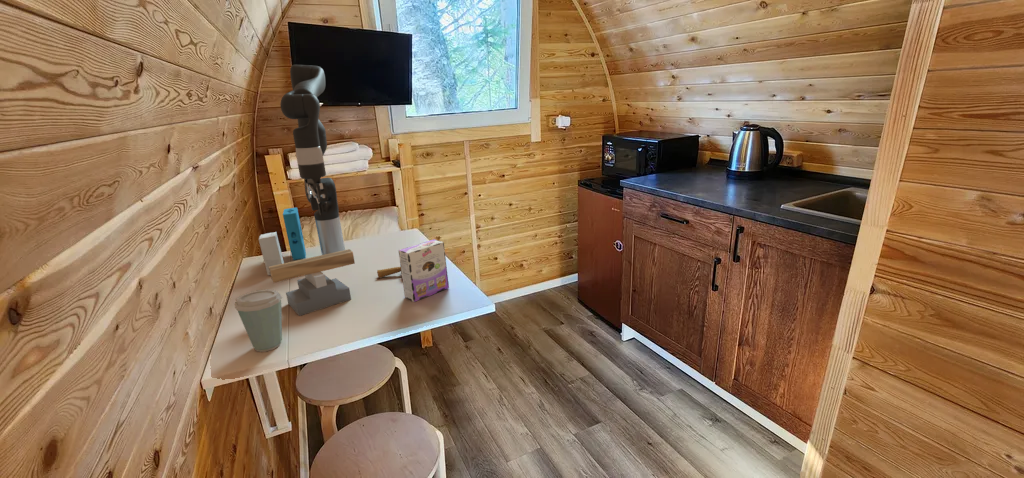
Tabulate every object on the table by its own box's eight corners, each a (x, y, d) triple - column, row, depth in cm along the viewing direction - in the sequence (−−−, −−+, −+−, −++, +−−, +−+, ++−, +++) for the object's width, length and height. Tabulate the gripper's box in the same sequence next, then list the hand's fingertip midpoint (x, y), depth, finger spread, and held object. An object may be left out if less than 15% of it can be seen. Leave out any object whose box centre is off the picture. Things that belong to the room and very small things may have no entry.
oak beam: (271, 278, 134) (268, 266, 133) (351, 260, 147) (349, 249, 146) (273, 282, 131) (270, 270, 130) (354, 263, 144) (352, 252, 143)
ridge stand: (288, 303, 142) (281, 273, 139) (338, 289, 151) (332, 260, 148) (299, 315, 133) (292, 283, 130) (351, 299, 143) (345, 269, 139)
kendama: (379, 285, 156) (429, 273, 158) (374, 268, 155) (425, 256, 157) (382, 281, 164) (429, 269, 166) (377, 265, 163) (425, 253, 165)
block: (305, 259, 184) (296, 213, 178) (292, 261, 182) (282, 214, 176) (306, 251, 194) (297, 207, 188) (293, 253, 193) (284, 209, 187)
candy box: (439, 284, 151) (434, 238, 146) (449, 288, 147) (444, 241, 142) (404, 297, 142) (397, 249, 137) (414, 302, 138) (407, 252, 133)
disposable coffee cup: (261, 336, 122) (249, 286, 117) (299, 335, 121) (288, 284, 117) (237, 357, 112) (222, 303, 107) (278, 356, 111) (265, 302, 107)
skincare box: (284, 273, 170) (276, 236, 165) (266, 276, 167) (258, 238, 163) (285, 266, 177) (277, 230, 172) (268, 269, 175) (259, 233, 170)
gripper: (330, 162, 134) (339, 214, 139) (316, 158, 144) (324, 206, 149) (304, 165, 129) (314, 218, 134) (291, 161, 140) (301, 210, 145)
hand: (319, 212), depth 142 cm, fingers open, 8 cm apart
